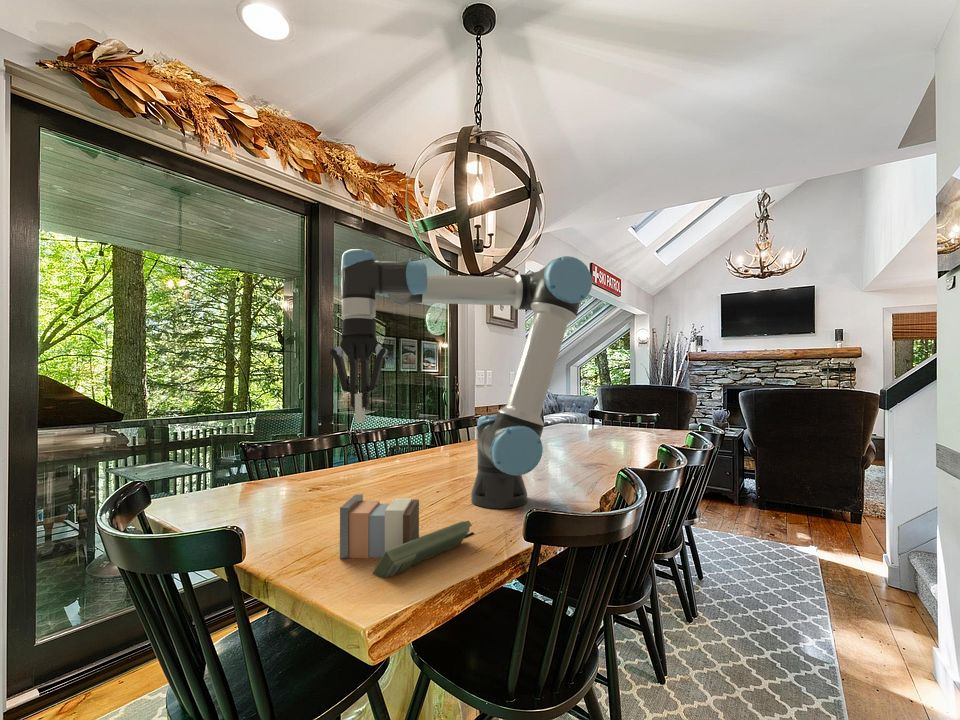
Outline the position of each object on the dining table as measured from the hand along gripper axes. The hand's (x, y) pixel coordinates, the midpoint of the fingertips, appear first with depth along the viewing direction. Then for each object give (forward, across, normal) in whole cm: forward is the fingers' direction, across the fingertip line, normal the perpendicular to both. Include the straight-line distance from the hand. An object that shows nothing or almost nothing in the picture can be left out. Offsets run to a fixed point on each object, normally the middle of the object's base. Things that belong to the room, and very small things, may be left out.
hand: (360, 422), depth 102 cm
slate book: (+22, -8, +16) cm, 29 cm away
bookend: (+22, -3, +16) cm, 28 cm away
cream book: (+22, -12, +16) cm, 30 cm away
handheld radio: (+24, -17, +17) cm, 34 cm away
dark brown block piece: (+24, -4, +16) cm, 29 cm away
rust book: (+22, -5, +16) cm, 28 cm away
